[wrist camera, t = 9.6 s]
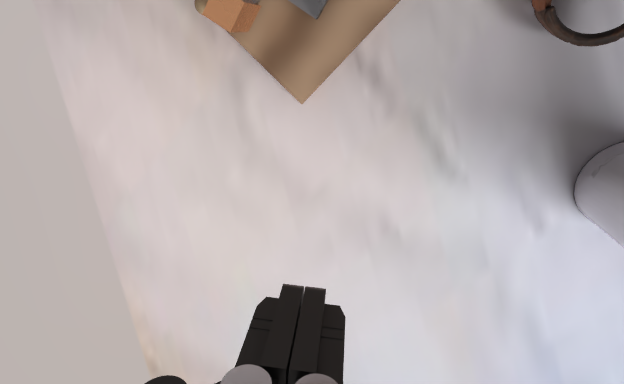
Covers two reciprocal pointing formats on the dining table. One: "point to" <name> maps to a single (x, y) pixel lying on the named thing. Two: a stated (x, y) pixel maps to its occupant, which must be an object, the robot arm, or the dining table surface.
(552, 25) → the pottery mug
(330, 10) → the post base
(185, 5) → the dining table surface
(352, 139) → the dining table surface
